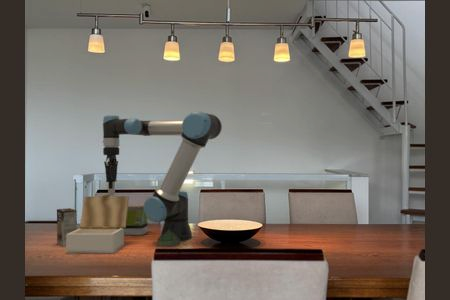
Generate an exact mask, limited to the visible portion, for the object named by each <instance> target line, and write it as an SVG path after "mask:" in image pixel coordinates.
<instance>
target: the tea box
mask: <svg viewBox="0 0 450 300" xmlns="http://www.w3.org/2000/svg"><path fill="white" fill-rule="evenodd" d="M148 226H149V225H148V218H147V217H146V215H145V212H144V204H128V211H127V220H126V228H124V236H143V235H145V234H146V233H147V232H148Z"/></svg>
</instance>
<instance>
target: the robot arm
mask: <svg viewBox="0 0 450 300" xmlns="http://www.w3.org/2000/svg"><path fill="white" fill-rule="evenodd" d="M102 121H103V122H102V128H103V129H102V130H103V132H102V133H103V136H102V137H103V140H102V142H103V143H102V144H103V151H102V152H103V156H106V159H105V160H104V163H103V164H104V169H105V170H104V171H105V179H106V180H105V181H106V183H107V185H108V186H107V187H108V189H107V190H108V191H107V195H110V196H116V186H115V185H116V182H117V180H118V179H117V177H118V176H117V175H118V165H119V160H117V156H119V155H120V135H131V136H132V135H133V136H144V137H149V136H180V138H181V139H182V141H181V143H180V145H179V147H178V149H177V151H176V154H175V155H174V157H173V160H172V162H171V163H170V166H169V168H168V170H167V173H166V174H165V177H164V179H163V181H162V182H161V185H160V186H158V187H156V188H155V190H154V192H153V194H152V196H149V197H148V198H146V200H145V201H144V204H143V205H144V212H145V215H146V217H147V220H149V221H151V222H152V223H162V222H163V226H162V230H161V232H160V235H164V234H165V233H166V231H168V229H169V231H171V232H172V233H174V234H175V235H176V236H177V237H178V238H180V242H182V241H187V240H188V241H189V240H190V239H192V237H193V233H192V228H191V226H190V224H189V197H188V194H189V193H188V192H186V191H181V188H182V186H183V184H184V182H185V181H186V179H187V176H188V175H189V172H190V170H191V168H192V166H193V164H194V163H195V160H196V158H197V156H198V154H199V152H200V150H201V149H203V148H205V147H206V145H207V143H208V142H209V140H214V139H216V138H217V137H218V136H220V134H221V132H222V121H221V120H220V118H219V117H217V116H216V115H215V114H212V113H208V112H207V113H206V112H204V111H192V112H190V113H188V114H187V115H186V116H185V117H184V119H172V120H171V119H169V120H168V119H167V120H165V119H164V120H163V119H162V120H140V119H139V118H136V117H135V118H134V117H133V118H132V117H131V118H120V116H119V115H115V114H106V115H104V116H103V120H102Z"/></svg>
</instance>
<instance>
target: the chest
mask: <svg viewBox="0 0 450 300" xmlns="http://www.w3.org/2000/svg"><path fill="white" fill-rule="evenodd" d="M124 246H125V235H124V229H123V228H120V229H80V228H78V229H77V230H75V231H73V232H70V233H68V234H66V246H65V249H66V253H65V254H67V255H68V254H70V255H71V254H76V255H77V254H84V255H86V254H87V255H88V254H95V255H96V254H100V255H101V254H103V255H104V254H105V255H106V254H115V253H116V252H118V251H119V250H120V249H122V248H123V247H124Z"/></svg>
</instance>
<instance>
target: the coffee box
mask: <svg viewBox="0 0 450 300" xmlns="http://www.w3.org/2000/svg"><path fill="white" fill-rule="evenodd" d="M77 211H78V210H76V209H74V208H57V209H56V233H57V234H56V241H57V244H58V245H59V246H61V247H63V248H64V247H65V248H66V234H68V233H70V232H73V231H75V230H77V221H78V220H77V218H78V217H77V216H78V215H77Z"/></svg>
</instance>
